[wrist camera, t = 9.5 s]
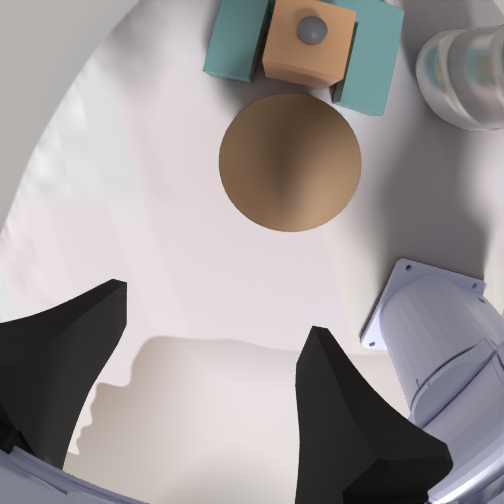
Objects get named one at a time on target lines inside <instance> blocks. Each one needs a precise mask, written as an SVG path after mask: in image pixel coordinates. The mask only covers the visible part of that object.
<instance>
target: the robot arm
mask: <svg viewBox="0 0 504 504" xmlns="http://www.w3.org/2000/svg"><path fill="white" fill-rule="evenodd" d="M408 265H410V267H409V268H408V269H406V267H407V266H408ZM474 283H475V284H474ZM473 284H474V286H473ZM486 287H487V285H486V283H485V282H484V281H482V280H479V279H475V278H472V277H469V276H465V275H462V274H458V273H455V272H451V271H448V270H444V269H441V268H437V267H433V266H430V265H426V264H423V263H419V262H415V261H412V260H408V259H404V258H401V259H399V260H398V261H397V262H396V264H395V266H394V269H393V271H392V274H391V276H390V278H389V280H388V283H387V285H386V287H385V290H384V292H383V294H382V296H381V298H380V301H379V303H378V305H377V307H376V309H375V311H374V313H373V315H372V318H371V320H370V322H369V324H368V326H367V328H366V330H365V332H364V334H363V336H362V338H361V340H360V344H361V346H362V347H364V348H371V349H377V350H384V351H388V352H389V355H390V358H391V360H392V363H393V365H394V368H395V370H396V373H397V376H398V379H399V381H400V384H401V387H402V389H403V392H404V395H405V398H406V400H407V403H408V406H409V409H410V412H411V414H410V417H409V418H408V419H406V418H405V417H403V416H402V415H401V414H400V413H399V412H397V411H396V410H395V409H394V408H393V407H391V406H390V405H389V404H388V403H387V402H386V401H385V400H384V399H383V398H382V397H381V396H380V395H379V394H378V393H377V392H376V391H375V390H374V389H373V388H372V387H371V386H370V385H369V384H368V382H367V381H366V380H365V379H364V378H363V377H362V375H361V374H360V373H359V371H358V370H357V369H356V368H355V366H354V365H353V364H352V362H351V361H350V360H349V358H348V357H347V355H346V354H345V353H344V351H343V350H342V348H341V347H340V345H339V344H338V342H337V341H336V340H335V338H334V337H333V335H332V334H331V332H330V331H329V330H328V328H323V327H317V326H312V328H311V330H310V333H309V335H308V338H307V340H306V343H305V345H304V347H303V350H302V352H301V354H300V357H299V359H298V361H297V364H296V384H295V387H296V399H297V411H298V422H299V435H300V448H299V449H300V450H299V466H298V480H297V489H296V497H295V504H504V318H503V317H502V316H501V315H500V314H499V313H498V311H497V310H496V309H495V308H494V307H493V306H492V305H491V303H490V302H489V301H488V300H487V299H486V298H485V297H484V296H483V293H484V291H485V289H486ZM126 324H127V282H123V281H119V280H116V279H111V280H109V281H107V282H105V283H103V284H101V285H99V286H97V287H95V288H93V289H91V290H89V291H87V292H85V293H83V294H81V295H79V296H77V297H75V298H73V299H71V300H69V301H67V302H65V303H62V304H60V305H58V306H56V307H53V308H51V309H49V310H46V311H43V312H40V313H37V314H34V315H31V316H28V317H24V318H20V319H17V320H13V321H9V322H3V323H0V504H149V503H146V502H142V501H139V500H136V499H133V498H129V497H127V496H123V495H121V494H117V493H115V492H112V491H109V490H107V489H104V488H101V487H99V486H96V485H94V484H91V483H89V482H86V481H84V480H82V479H79V478H77V477H75V476H73V475H70V474H68V473H66V472H64V471H62V469H63V465H64V461H65V457H66V454H67V450H68V447H69V443H70V440H71V437H72V434H73V431H74V428H75V425H76V423H77V420H78V417H79V415H80V412H81V410H82V407H83V405H84V403H85V400H86V398H87V396H88V393H89V391H90V389H91V388H92V386H93V384H94V382H95V380H96V379H97V377H98V376H99V374H100V372H101V371H102V369H103V367H104V366H105V364H106V363H107V361H108V359H109V358H110V356H111V354H112V353H113V351H114V350H115V348H116V346H117V345H118V342H119V340H120V338H121V336H122V334H123V331H124V329H125V327H126ZM370 342H373V343H370Z"/></svg>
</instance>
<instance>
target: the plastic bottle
mask: <svg viewBox="0 0 504 504" xmlns="http://www.w3.org/2000/svg"><path fill="white" fill-rule="evenodd" d="M416 77H417V82H418V86H419V88H420V91H421V94H422V95H423V97H424V99H425V101H426V102H427V104H428V105H429V106H430V108H431V109H432V110H433V111H434V112H435V113H436V114H437V115H438V116H439V117H441V118H442V119H443V120H445V121H447V122H449V123H451V124H453V125H455V126H457V127H459V128H462V129H464V130H468V131H492V130H497V129H504V25H500V26H492V27H484V28H477V29H454V30H446V31H442V32H440V33H437V34H436V35H434V36H433V37H432V38H431V39H430V40H428V41H427V42H426V43H425V44H424V45H423V47H422V48H421V49H420V51H419V54H418V56H417V61H416Z"/></svg>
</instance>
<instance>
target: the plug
mask: <svg viewBox="0 0 504 504" xmlns="http://www.w3.org/2000/svg"><path fill="white" fill-rule="evenodd" d="M355 17H356V11H353V10H349V9H346V8H343V7H339V6H336V5H332V4H329V3H325V2H321V1H317V0H276V4H275V8H274V12H273V16H272V20H271V24H270V29H269V33H268V37H267V41H266V46H265V50H264V54H263V59H262V61H263V66H264V71H265V76H266V77H268V78H273V79H278V80H282V81H287V82H291V83H296V84H300V85H304V86H308V87H312V88H316V89H320V90H324V89H326V88H327V87H329V86H331V85H333V84H335V83H336V82H338V81H340V80H342V79H343V76H344V71H345V67H346V62H347V57H348V52H349V48H350V43H351V38H352V33H353V28H354V23H355Z"/></svg>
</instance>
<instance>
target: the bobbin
mask: <svg viewBox="0 0 504 504" xmlns="http://www.w3.org/2000/svg"><path fill="white" fill-rule="evenodd" d="M219 171H220V177H221V181H222V184H223V187H224V189H225V191H226V193H227V195H228V197H229V198H230V200H231V202H232V203H233V204H234V205H235V207H236V208H237V209H238V210H239V211H240V212H241V213H242V214H243V215H245V216H246V217H247V218H248V219H250V220H251V221H253V222H255V223H256V224H259V225H261V226H263V227H265V228H269V229H272V230H276V231H282V232H299V231H305V230H310V229H313V228H316V227H318V226H321V225H323V224H325V223H327V222H328V221H330V220H331V219H333V218H334V217H335V216H336V215H338V214H339V213H340V212H341V211H342V210H343V209H344V208H345V207H346V205H347V204H348V203H349V201H350V200H351V198H352V196H353V194H354V193H355V190H356V188H357V185H358V182H359V178H360V173H361V154H360V148H359V144H358V141H357V138H356V136H355V134H354V132H353V130H352V128H351V127H350V125H349V124H348V122H347V121H346V120H345V118H344V117H343V116H342V115H341V114H340V113H339V112H338V111H337V110H335V109H334V108H333V107H331V106H330V105H329V104H327V103H325V102H323V101H321V100H319V99H317V98H314V97H311V96H308V95H304V94H298V93H281V94H275V95H270V96H267V97H264V98H262V99H259V100H257V101H255V102H253V103H252V104H250V105H249V106H247V107H246V108H245V109H243V110H242V111H241V112H240V113H239V114H238V115H237V116H236V117H235V119H234V120H233V121H232V122H231V124H230V125H229V127H228V129H227V130H226V133H225V135H224V137H223V140H222V143H221V147H220V153H219Z"/></svg>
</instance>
